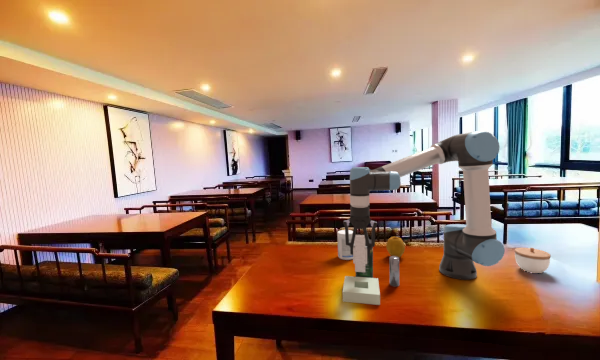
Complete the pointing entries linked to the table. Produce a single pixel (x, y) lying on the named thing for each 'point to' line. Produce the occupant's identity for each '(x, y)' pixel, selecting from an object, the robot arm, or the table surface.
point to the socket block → (361, 290)
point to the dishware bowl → (532, 259)
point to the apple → (395, 246)
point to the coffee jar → (367, 265)
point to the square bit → (359, 253)
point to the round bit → (394, 270)
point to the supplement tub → (344, 245)
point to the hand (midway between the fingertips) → (360, 262)
